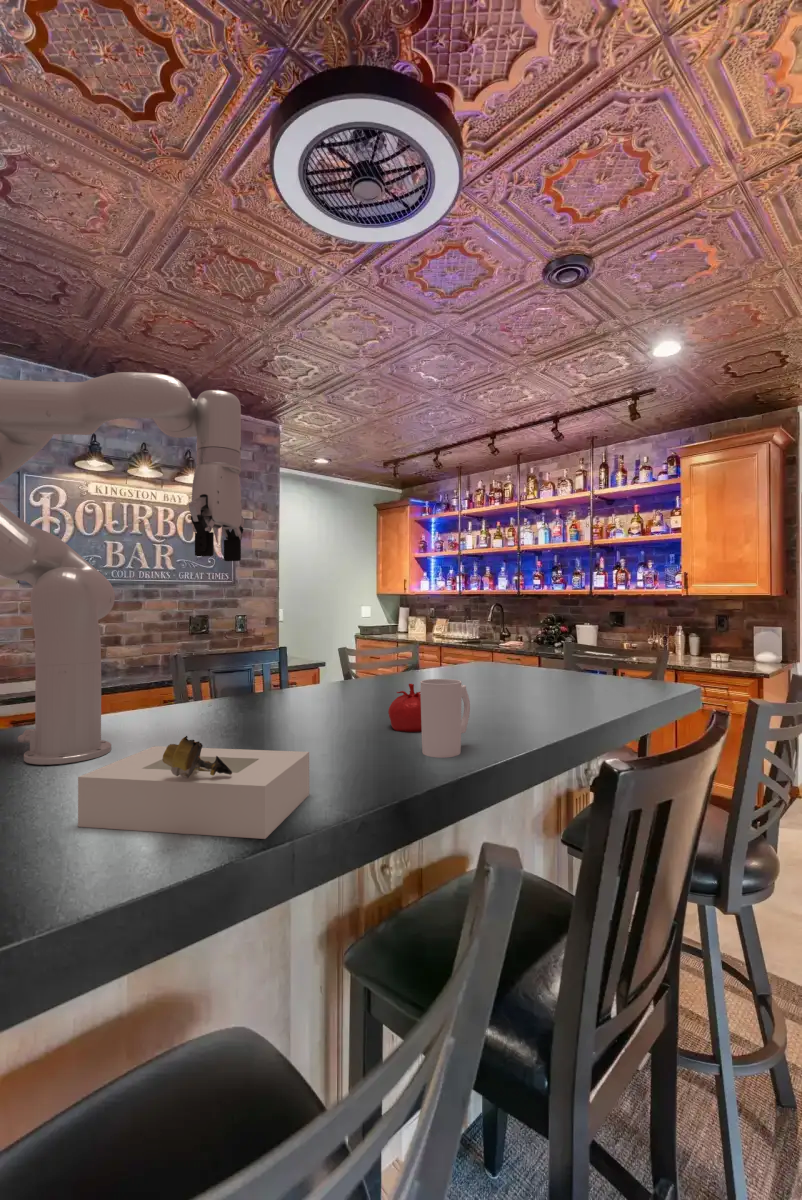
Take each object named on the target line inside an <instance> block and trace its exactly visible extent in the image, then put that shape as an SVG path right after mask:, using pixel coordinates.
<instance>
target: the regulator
mask: <svg viewBox="0 0 802 1200" xmlns="http://www.w3.org/2000/svg"><path fill="white" fill-rule="evenodd" d="M188 738H189V737H188V735H185V736H184V737H183V738H182V739H181V740H180V741H179V743H178V744H177V743H170V744H168V745H167V746H166V747H167V748H166V750H165V752H164V754H163V759H162V760H163V762H164V763H165V764H167V765H169V766H171V767H172V769H171V771H172V774H174V775H175V776H179V775H181V776H182V777H183V778H189V776H190V775H191V774H192V773H193V771H194V770H196V771H197V770H198V771H207V772H210V775H215V773H216V772H218V773H225V774H229V775H231V774H232V771H231V770H230V769H229V768H228V767H227V766H226V765H225V764H224V763H223V762H222V760H221V759H220V758H219V757H218V756H216V760H215V762H214V763H210V762H209V761H203V760H201V758H200V753H201V749H202V748H203V747H204V745H203V744H202V743H201V742H200V741H195V740H194V739H188ZM200 767H203V768H206V769H208V770H206V769H202V768H200ZM209 769H211V770H209Z"/></svg>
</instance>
